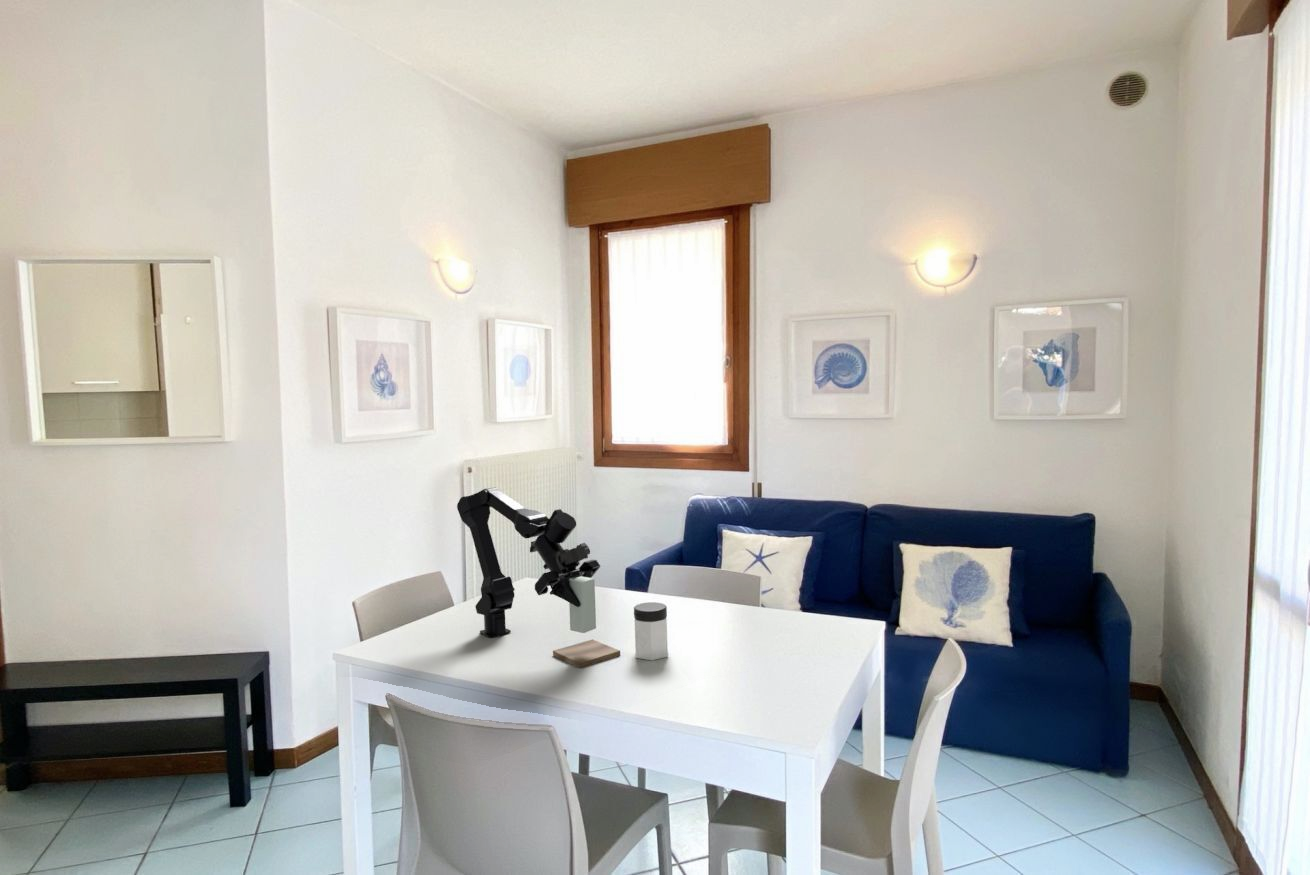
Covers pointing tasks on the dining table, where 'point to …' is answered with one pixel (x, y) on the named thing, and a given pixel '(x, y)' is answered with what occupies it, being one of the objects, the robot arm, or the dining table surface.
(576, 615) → the pale green square post
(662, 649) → the jar
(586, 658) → the plate
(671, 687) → the dining table surface
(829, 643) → the dining table surface
